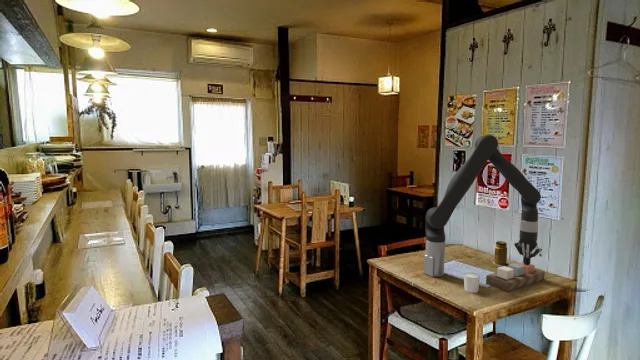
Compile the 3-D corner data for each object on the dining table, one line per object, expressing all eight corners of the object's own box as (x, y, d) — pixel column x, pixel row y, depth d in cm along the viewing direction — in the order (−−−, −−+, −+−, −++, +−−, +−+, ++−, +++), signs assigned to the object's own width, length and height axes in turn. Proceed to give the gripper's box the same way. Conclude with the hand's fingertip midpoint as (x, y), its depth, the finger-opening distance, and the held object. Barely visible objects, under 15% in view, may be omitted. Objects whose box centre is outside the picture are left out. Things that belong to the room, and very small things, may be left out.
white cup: (460, 287, 175) (461, 272, 174) (474, 286, 176) (475, 272, 175) (467, 293, 168) (468, 278, 167) (482, 293, 169) (483, 277, 168)
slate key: (517, 276, 177) (518, 268, 177) (507, 273, 181) (508, 264, 181) (524, 274, 180) (524, 266, 179) (514, 271, 184) (514, 263, 183)
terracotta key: (527, 275, 181) (528, 267, 181) (517, 271, 186) (518, 263, 185) (534, 273, 184) (534, 265, 183) (524, 270, 188) (524, 262, 187)
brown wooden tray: (507, 292, 169) (507, 283, 169) (485, 283, 179) (486, 275, 178) (544, 279, 183) (544, 271, 183) (522, 272, 193) (522, 265, 192)
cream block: (506, 279, 173) (507, 271, 173) (496, 276, 178) (497, 267, 177) (513, 277, 176) (514, 269, 175) (503, 274, 180) (504, 266, 180)
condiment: (491, 261, 209) (492, 240, 208) (506, 261, 209) (507, 240, 208) (497, 266, 202) (498, 244, 201) (513, 266, 202) (514, 244, 201)
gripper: (511, 227, 186) (509, 262, 188) (537, 233, 174) (535, 270, 177) (520, 225, 189) (518, 259, 192) (547, 231, 178) (544, 267, 180)
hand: (526, 264), depth 184 cm, fingers closed
